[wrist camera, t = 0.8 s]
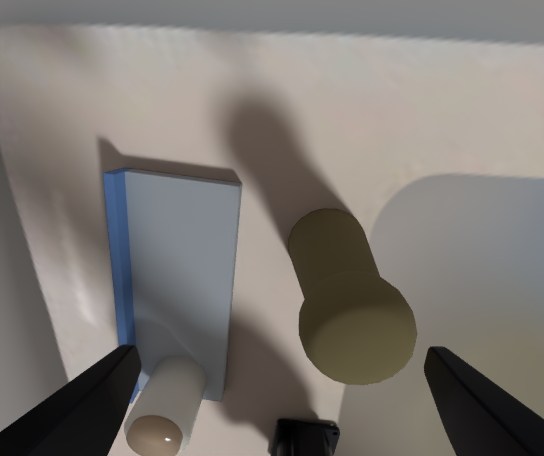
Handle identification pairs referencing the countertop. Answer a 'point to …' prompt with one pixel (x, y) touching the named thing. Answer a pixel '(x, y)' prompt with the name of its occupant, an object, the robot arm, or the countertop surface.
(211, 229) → the shelf
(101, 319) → the countertop surface
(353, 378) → the olive waisted cylinder
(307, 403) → the countertop surface
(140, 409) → the ceramic jar
